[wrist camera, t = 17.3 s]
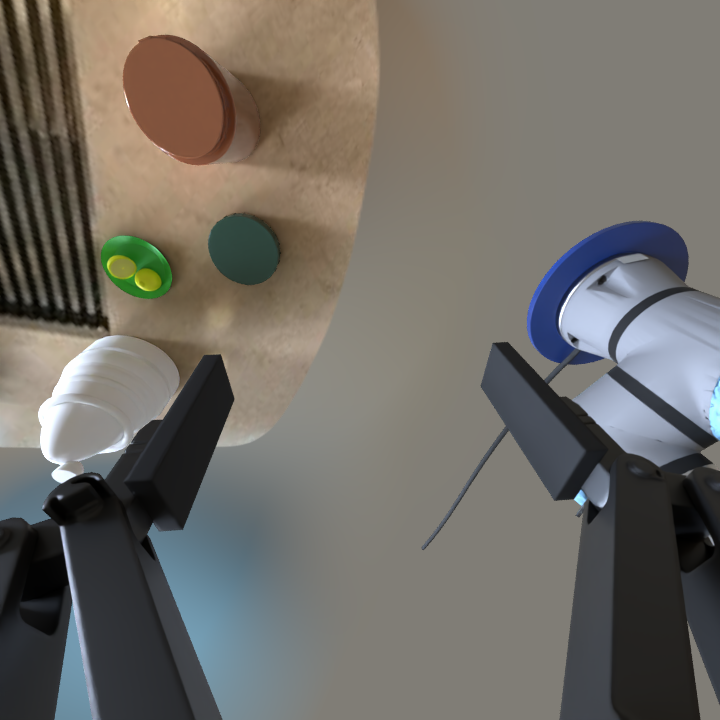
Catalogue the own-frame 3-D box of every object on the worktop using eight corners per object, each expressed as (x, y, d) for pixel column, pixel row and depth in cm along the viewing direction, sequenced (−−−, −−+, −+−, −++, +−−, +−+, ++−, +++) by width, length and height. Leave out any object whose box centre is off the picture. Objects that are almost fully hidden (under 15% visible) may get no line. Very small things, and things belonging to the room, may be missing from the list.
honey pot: (195, 369, 48) (135, 466, 33) (155, 413, 52) (85, 516, 38) (110, 318, 42) (-10, 406, 27) (72, 372, 47) (-50, 474, 32)
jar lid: (224, 198, 35) (219, 200, 34) (290, 235, 38) (289, 238, 37) (204, 261, 39) (199, 265, 37) (266, 290, 42) (264, 296, 40)
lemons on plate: (103, 283, 40) (89, 291, 37) (104, 222, 36) (89, 227, 33) (170, 305, 42) (160, 314, 40) (178, 251, 38) (168, 257, 36)
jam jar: (272, 150, 33) (248, 148, 24) (208, 171, 34) (159, 178, 24) (239, 56, 29) (193, 8, 19) (166, 83, 30) (87, 49, 20)
